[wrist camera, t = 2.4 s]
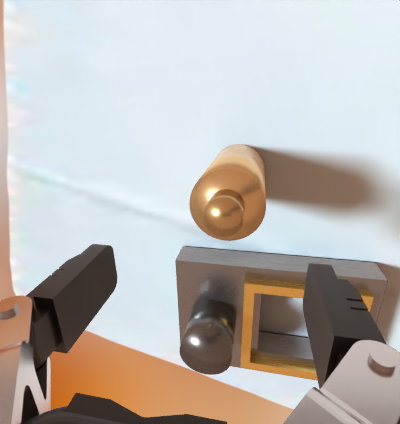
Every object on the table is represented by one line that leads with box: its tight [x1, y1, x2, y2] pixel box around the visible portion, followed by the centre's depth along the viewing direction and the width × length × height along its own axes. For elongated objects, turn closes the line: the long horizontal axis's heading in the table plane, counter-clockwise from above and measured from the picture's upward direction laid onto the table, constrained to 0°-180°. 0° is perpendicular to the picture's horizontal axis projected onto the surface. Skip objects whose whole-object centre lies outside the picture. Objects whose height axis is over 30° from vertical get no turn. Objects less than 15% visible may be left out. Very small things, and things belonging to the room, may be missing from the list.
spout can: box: [190, 145, 266, 241], centre depth 22 cm, size 5×5×12 cm
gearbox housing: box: [176, 246, 388, 380], centre depth 29 cm, size 20×14×8 cm
